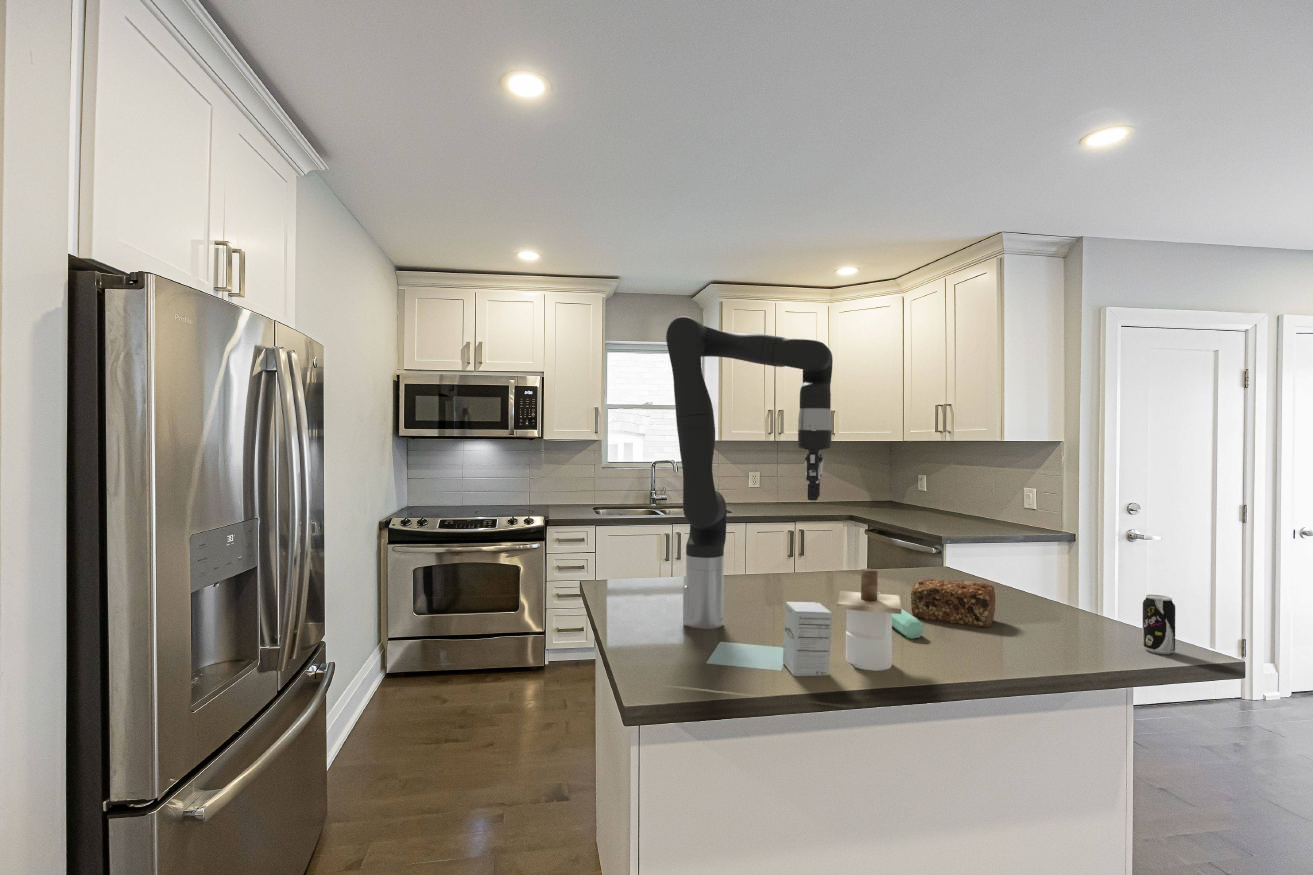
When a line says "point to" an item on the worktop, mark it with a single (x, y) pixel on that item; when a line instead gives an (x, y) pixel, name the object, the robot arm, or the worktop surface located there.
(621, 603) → the worktop surface
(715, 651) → the mat
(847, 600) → the lid
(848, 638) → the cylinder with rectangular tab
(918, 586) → the bread
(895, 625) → the container
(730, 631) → the worktop surface
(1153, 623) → the beverage can
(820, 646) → the supplement box
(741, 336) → the robot arm
